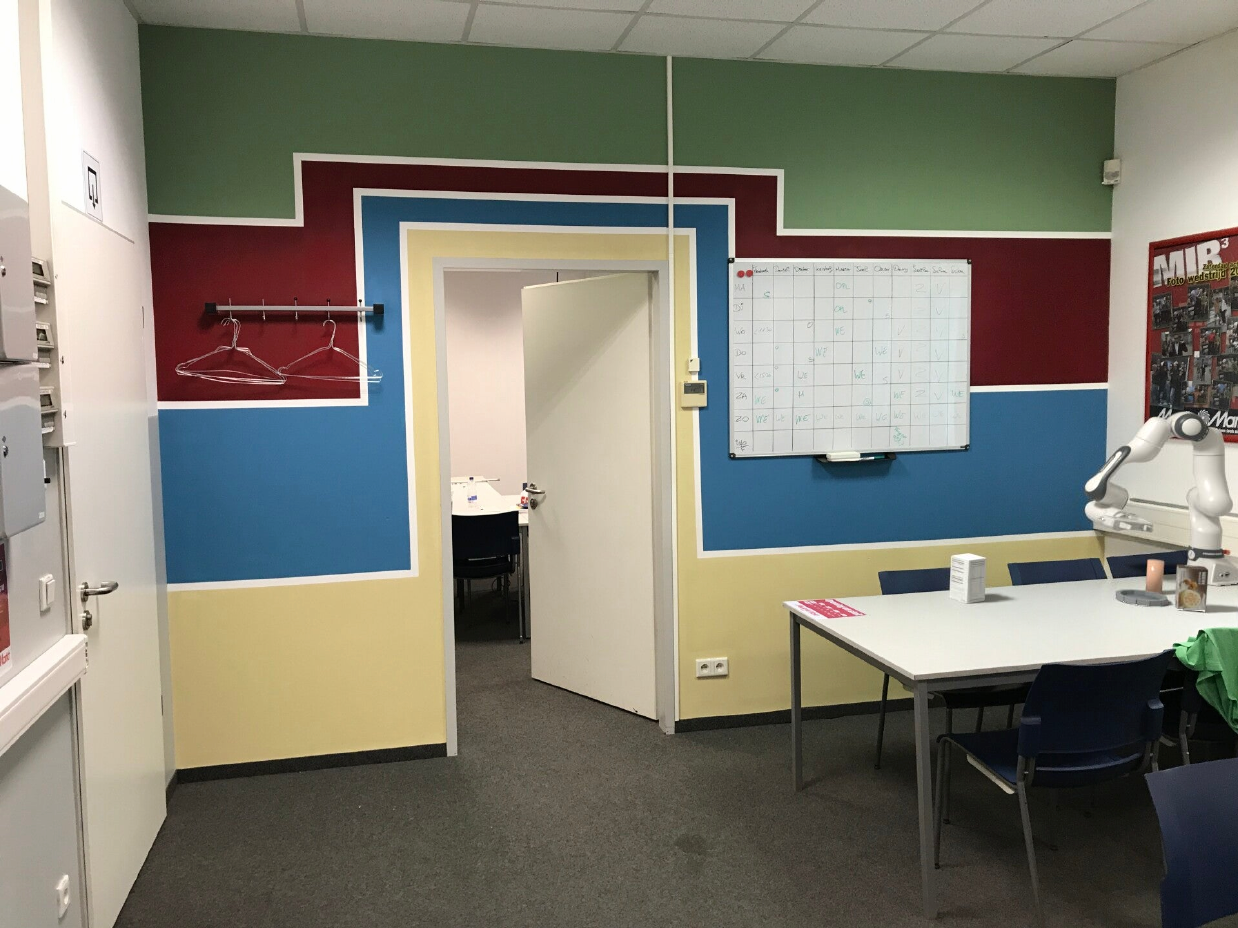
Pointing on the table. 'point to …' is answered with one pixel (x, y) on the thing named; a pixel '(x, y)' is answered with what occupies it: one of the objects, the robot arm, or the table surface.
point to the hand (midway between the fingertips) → (1141, 529)
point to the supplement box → (968, 578)
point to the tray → (1141, 597)
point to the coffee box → (1191, 587)
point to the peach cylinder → (1154, 575)
